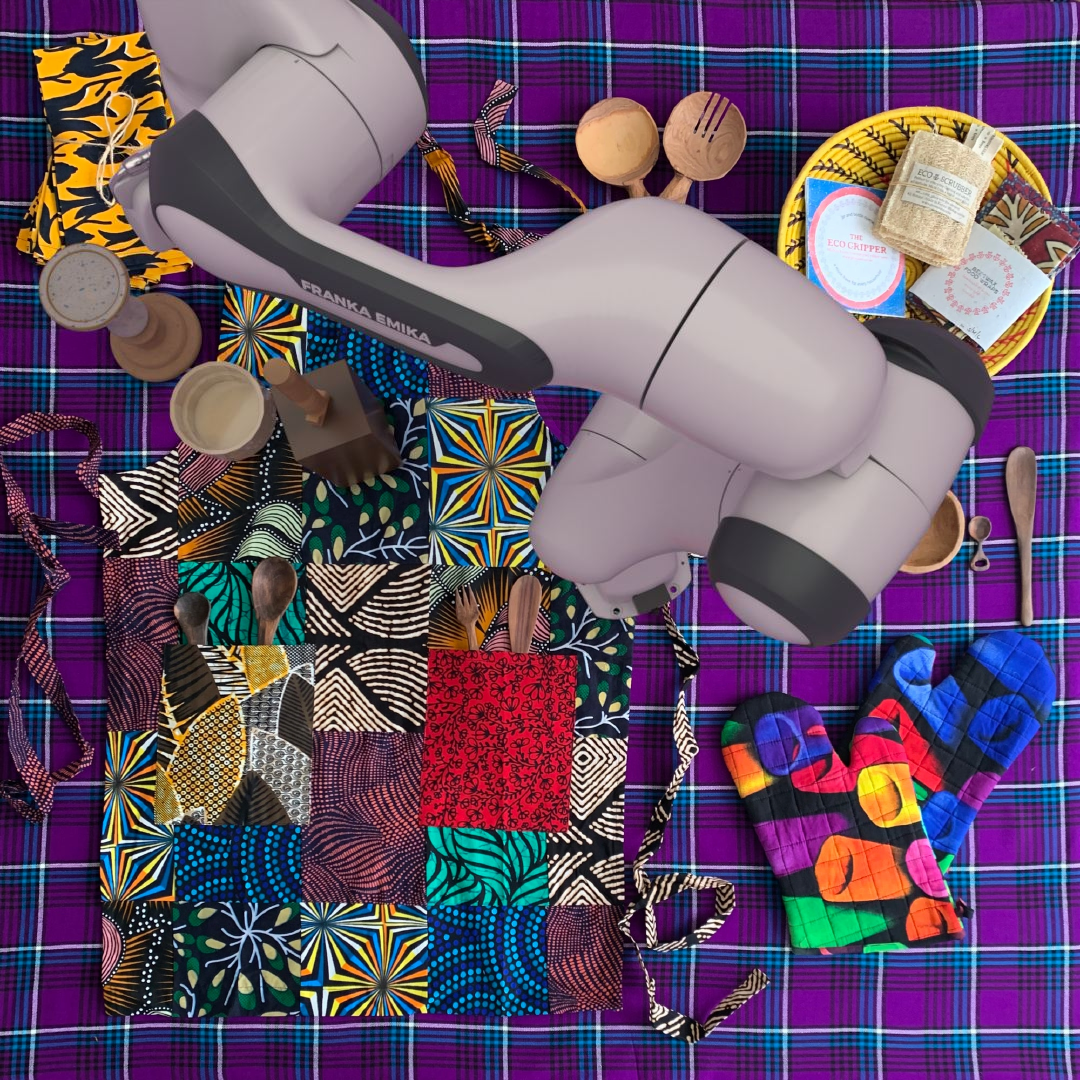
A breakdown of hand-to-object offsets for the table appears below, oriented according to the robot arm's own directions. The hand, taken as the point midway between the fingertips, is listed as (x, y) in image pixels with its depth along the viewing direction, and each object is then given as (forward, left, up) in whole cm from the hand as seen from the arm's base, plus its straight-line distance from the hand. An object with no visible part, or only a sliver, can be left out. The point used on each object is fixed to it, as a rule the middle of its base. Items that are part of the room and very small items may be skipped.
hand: (261, 212), depth 76 cm
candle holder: (+14, +26, -48) cm, 56 cm away
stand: (-10, +5, -48) cm, 49 cm away
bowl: (0, +20, -48) cm, 52 cm away
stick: (-10, +5, -26) cm, 28 cm away
